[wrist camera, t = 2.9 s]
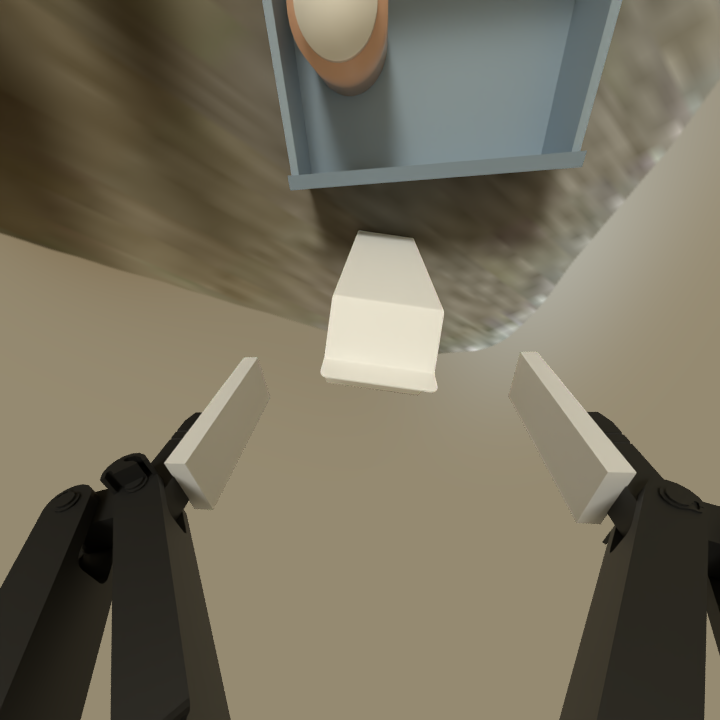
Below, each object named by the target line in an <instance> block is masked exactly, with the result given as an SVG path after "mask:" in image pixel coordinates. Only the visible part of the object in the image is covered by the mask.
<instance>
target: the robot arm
mask: <svg viewBox="0 0 720 720" xmlns="http://www.w3.org/2000/svg"><path fill="white" fill-rule="evenodd" d="M269 399H270V395H269V392H268V389H267V385H266V382H265V379H264V376H263V372H262V369H261V366H260V363H259V360H258V357H251V358H250V357H245V358H243V360H242V361H241V362H240V363H239V365H238V366H237V367H236V369H235V370H234V371H233V373H232V374H231V375H230V377H229V378H228V379H227V381H226V382H225V383H224V385H223V386H222V387H221V389H220V390H219V391H218V393H217V394H216V395H215V396H214V398H213V399H212V400H211V402H210V403H209V404H208V406H207V407H206V408H205V410H204V411H203V412H202V413H195V414H193V415H192V416H191V417H189V418H188V419H187V420H185V421H184V423H183V424H182V425H181V427H180V428H179V429H178V431H177V432H176V433H175V434H174V435H173V436H172V439H171V440H169V441H168V443H167V444H166V445H165V446H164V448H163V449H162V450H161V452H160V453H159V454H158V455H157V456H156V458H155V459H154V460H153V461H152V463H150V462H149V460H148V459H147V457H146V456H145V455H144V454H141V453H133V454H130V455H127V456H124V457H122V458H120V459H118V460H116V461H115V462H113V463H112V464H111V465H110V466H109V467H107V469H106V470H105V471H104V472H103V474H102V476H101V479H100V481H101V482H102V483H103V484H104V485H105V486H106V487H107V488H108V489H106V490H102V491H98V492H95V491H94V490H92V488H91V487H90V486H89V485H77V486H74V487H71V488H69V489H67V490H65V491H63V492H62V493H60V494H59V495H57V496H56V497H55V498H53V499H52V500H51V501H50V502H49V503H48V504H47V506H46V507H45V508H44V510H43V511H42V513H41V515H40V517H39V519H38V520H37V522H36V524H35V526H34V528H33V529H32V531H31V533H30V535H29V537H28V539H27V541H26V542H25V544H24V546H23V548H22V550H21V552H20V554H19V555H18V557H17V559H16V561H15V562H14V564H13V566H12V568H11V570H10V572H9V574H8V575H7V577H6V579H5V581H4V583H3V584H2V586H1V588H0V720H80V719H81V716H82V712H83V707H84V704H85V700H86V697H87V692H88V689H89V685H90V681H91V678H92V674H93V670H94V666H95V662H96V658H97V654H98V651H99V647H100V643H101V640H102V636H103V632H104V628H105V624H106V621H107V616H108V613H109V609H110V605H111V602H112V652H111V655H112V656H111V720H230V715H229V710H228V706H227V701H226V696H225V691H224V687H223V682H222V677H221V673H220V668H219V664H218V659H217V654H216V650H215V645H214V640H213V636H212V631H211V626H210V622H209V617H208V612H207V607H206V603H205V598H204V594H203V589H202V584H201V580H200V575H199V570H198V566H197V561H196V556H195V552H194V547H193V542H192V538H191V533H190V528H189V524H188V519H187V515H186V513H185V511H184V508H185V506H186V504H187V503H188V501H190V503H191V504H192V506H193V507H194V509H211V510H213V509H214V507H215V505H216V503H217V501H218V499H219V497H220V495H221V493H222V491H223V489H224V487H225V485H226V483H227V482H228V480H229V477H230V476H231V474H232V472H233V470H234V468H235V466H236V464H237V462H238V460H239V458H240V456H241V454H242V452H243V450H244V448H245V446H246V444H247V442H248V440H249V438H250V436H251V434H252V432H253V431H254V429H255V426H256V425H257V422H258V421H259V418H260V416H261V415H262V413H263V411H264V409H265V407H266V405H267V403H268V401H269ZM509 399H510V400H511V402H512V404H513V406H514V408H515V410H516V412H517V413H518V415H519V417H520V419H521V421H522V423H523V425H524V426H525V428H526V430H527V432H528V434H529V436H530V438H531V440H532V441H533V443H534V445H535V447H536V449H537V450H538V452H539V454H540V456H541V458H542V460H543V462H544V464H545V466H546V467H547V469H548V471H549V473H550V475H551V477H552V479H553V481H554V482H555V484H556V486H557V488H558V489H559V492H560V494H561V495H562V497H563V499H564V501H565V503H566V505H567V507H568V508H569V510H570V512H571V514H572V516H573V518H574V520H575V522H576V523H592V524H601V522H602V521H603V520H604V518H605V517H606V515H607V514H608V515H609V516H610V518H611V520H612V521H613V523H614V524H615V526H614V527H613V529H612V530H611V531H610V532H609V534H608V535H607V536H606V538H605V539H604V541H603V543H605V544H607V543H608V544H607V548H606V551H605V556H604V559H603V562H602V566H601V569H600V573H599V577H598V581H597V584H596V588H595V591H594V595H593V599H592V602H591V606H590V610H589V613H588V617H587V621H586V624H585V628H584V632H583V635H582V639H581V643H580V646H579V650H578V654H577V657H576V661H575V664H574V668H573V672H572V675H571V679H570V683H569V686H568V690H567V694H566V697H565V701H564V705H563V708H562V712H561V716H560V719H559V720H704V703H705V662H706V619H707V618H706V617H707V613H708V617H709V620H710V623H711V627H712V630H713V634H714V637H715V640H716V644H717V647H718V651H719V654H720V506H716V505H712V504H709V503H705V502H702V500H701V499H700V498H699V497H698V496H696V495H695V494H694V493H693V492H691V491H690V490H688V489H686V488H685V487H683V486H681V485H679V484H677V483H674V482H671V481H668V480H664V479H663V478H662V477H661V476H660V475H659V474H658V472H657V471H656V470H655V469H654V468H653V467H652V466H651V465H650V463H649V462H648V461H647V460H646V459H645V458H644V457H643V456H642V455H641V453H640V452H639V451H638V450H637V449H636V448H635V447H634V446H633V445H632V444H630V441H629V440H628V439H627V438H626V437H625V436H624V435H622V432H621V431H620V430H619V429H618V428H617V427H616V426H615V425H614V423H613V422H612V421H610V420H609V419H607V418H606V417H604V416H603V415H602V414H600V413H598V412H586V411H585V410H584V408H583V407H582V406H581V405H580V403H579V402H578V401H577V400H576V398H575V397H574V396H573V395H572V394H571V392H570V391H569V390H568V389H567V388H566V387H565V385H564V384H563V383H562V381H561V380H560V379H559V378H558V377H557V376H556V374H555V373H554V372H553V371H552V370H551V368H550V367H549V366H548V364H547V363H546V362H545V361H544V360H543V358H542V357H541V356H540V355H539V354H538V352H520V355H519V358H518V362H517V366H516V370H515V373H514V377H513V381H512V385H511V388H510V392H509Z"/></svg>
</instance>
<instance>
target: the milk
mask: <svg viewBox="0 0 720 720" xmlns="http://www.w3.org/2000/svg"><path fill="white" fill-rule="evenodd" d="M443 317H444V310H443V308H442V305H441V303H440V301H439V298H438V296H437V293H436V291H435V289H434V286H433V284H432V281H431V279H430V277H429V274H428V272H427V269H426V267H425V265H424V262H423V260H422V257H421V255H420V253H419V250H418V248H417V245H416V243H415V241H414V238H409V237H402V236H396V235H389V234H382V233H375V232H368V231H361V230H359V231H358V233H357V235H356V238H355V241H354V243H353V246H352V248H351V251H350V253H349V256H348V258H347V261H346V264H345V266H344V269H343V271H342V274H341V276H340V279H339V281H338V284H337V287H336V289H335V292H334V294H333V297H332V304H331V311H330V319H329V326H328V334H327V341H326V349H325V356H324V361H323V364H322V367H321V372H320V373H321V375H322V376H323V377H325V378H326V382H327V383H333V384H340V385H347V386H354V387H361V388H369V389H376V390H384V391H391V392H397V393H404V394H413V395H419V394H420V393H421V391H423V392H430V393H433V392H436V391H437V389H438V386H437V382H436V378H435V368H436V362H437V355H438V349H439V343H440V336H441V330H442V323H443Z"/></svg>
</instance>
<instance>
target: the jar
mask: <svg viewBox="0 0 720 720" xmlns="http://www.w3.org/2000/svg"><path fill="white" fill-rule="evenodd" d="M286 4H287V14H288V19H289V24H290V27H291V31H292V34H293V37H294V39H295V42H296V44H297V46H298V48H299V49H300V51H301V52H302V54H303V55H304V57H305V58H306V59H307V61H308V62H309V63H310V65H311V66H312V67H313V68H314V70H315V71H316V72H317V74H318V75H319V76H320V77H321V79H322V80H323V81H324V82H325V84H326V85H327V86H328V87H329V88H330V89H331V90H333V91H334V92H336V93H338V94H340V95H343V96H356V95H359V94H362V93H364V92H365V91H367V90H368V89H369V88H371V86H372V85H373V84H374V83H375V82H376V80H377V79H378V77H379V76H380V74H381V72H382V69H383V67H384V64H385V60H386V55H387V48H388V0H286Z"/></svg>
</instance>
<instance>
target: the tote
mask: <svg viewBox="0 0 720 720" xmlns="http://www.w3.org/2000/svg"><path fill="white" fill-rule="evenodd" d="M262 2H263V8H264V14H265V20H266V26H267V32H268V38H269V44H270V50H271V56H272V62H273V67H274V73H275V79H276V85H277V91H278V97H279V103H280V109H281V115H282V121H283V127H284V133H285V139H286V144H287V150H288V156H289V162H290V168H291V174H292V176H288V181H289V186H290V190H300V189H313V188H325V187H338V186H351V185H363V184H376V183H388V182H401V181H413V180H426V179H438V178H451V177H463V176H476V175H488V174H501V173H513V172H526V171H539V170H551V169H564V168H576V167H582V165H583V162H584V159H585V155H586V152H587V151H580V149H581V146H582V142H583V139H584V135H585V132H586V128H587V124H588V121H589V117H590V114H591V110H592V107H593V103H594V99H595V96H596V92H597V89H598V85H599V82H600V78H601V74H602V71H603V67H604V64H605V60H606V57H607V53H608V49H609V46H610V42H611V39H612V35H613V32H614V28H615V24H616V21H617V17H618V14H619V10H620V7H621V3H622V0H388V48H387V55H386V60H385V64H384V67H383V69H382V72H381V74H380V76H379V77H378V79H377V80H376V82H375V83H374V84H373V85H372V86H371V88H369V89H368V90H367V91H365V92H364V93H362V94H359V95H356V96H343V95H340V94H338V93H336V92H334V91H333V90H331V89H330V88H329V87H328V86H327V85H326V84H325V82H324V81H323V80H322V79H321V77H320V76H319V75H318V74H317V72H316V71H315V70H314V68H313V67H312V66H311V65H310V63H309V62H308V61H307V59H306V58H305V57H304V55H303V54H302V52H301V51H300V49H299V48H298V46H297V44H296V42H295V39H294V37H293V34H292V31H291V27H290V24H289V19H288V14H287V4H286V0H262Z"/></svg>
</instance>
